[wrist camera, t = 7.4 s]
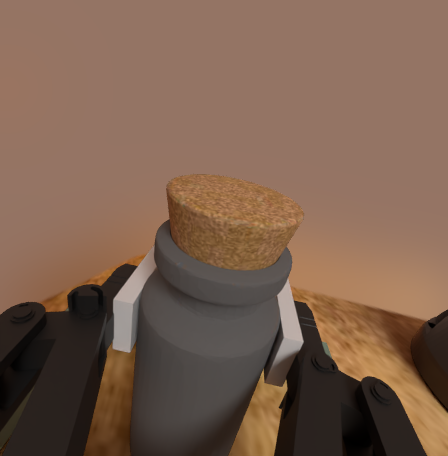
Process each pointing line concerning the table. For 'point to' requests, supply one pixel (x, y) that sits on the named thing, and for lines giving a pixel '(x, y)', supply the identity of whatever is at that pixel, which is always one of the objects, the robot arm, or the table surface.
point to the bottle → (208, 313)
